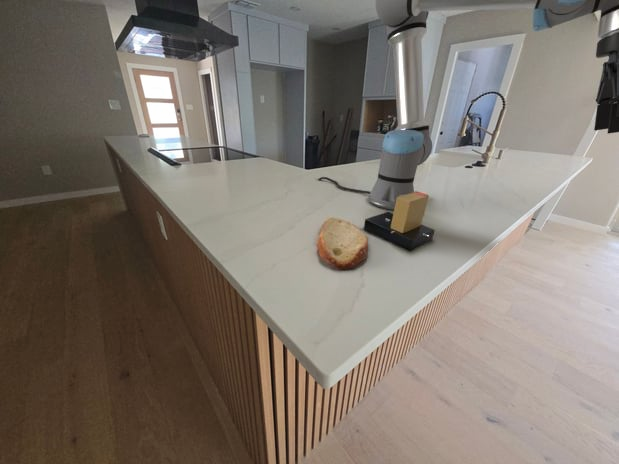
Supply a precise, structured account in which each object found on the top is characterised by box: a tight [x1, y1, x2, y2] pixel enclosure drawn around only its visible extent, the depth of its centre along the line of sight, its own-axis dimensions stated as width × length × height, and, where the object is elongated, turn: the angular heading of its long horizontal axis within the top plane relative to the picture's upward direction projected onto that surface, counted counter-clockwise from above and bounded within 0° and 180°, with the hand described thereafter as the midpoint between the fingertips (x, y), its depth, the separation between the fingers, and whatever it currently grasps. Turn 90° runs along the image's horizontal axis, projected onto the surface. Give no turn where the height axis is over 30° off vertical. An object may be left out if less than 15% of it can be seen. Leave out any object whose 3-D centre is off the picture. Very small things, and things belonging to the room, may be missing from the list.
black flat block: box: [363, 211, 436, 252], centre depth 65 cm, size 15×12×3 cm
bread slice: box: [316, 217, 369, 270], centre depth 60 cm, size 18×18×4 cm
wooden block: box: [391, 190, 430, 233], centre depth 62 cm, size 8×4×8 cm, turn 128°
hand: (608, 130), depth 64 cm, fingers open, 13 cm apart
